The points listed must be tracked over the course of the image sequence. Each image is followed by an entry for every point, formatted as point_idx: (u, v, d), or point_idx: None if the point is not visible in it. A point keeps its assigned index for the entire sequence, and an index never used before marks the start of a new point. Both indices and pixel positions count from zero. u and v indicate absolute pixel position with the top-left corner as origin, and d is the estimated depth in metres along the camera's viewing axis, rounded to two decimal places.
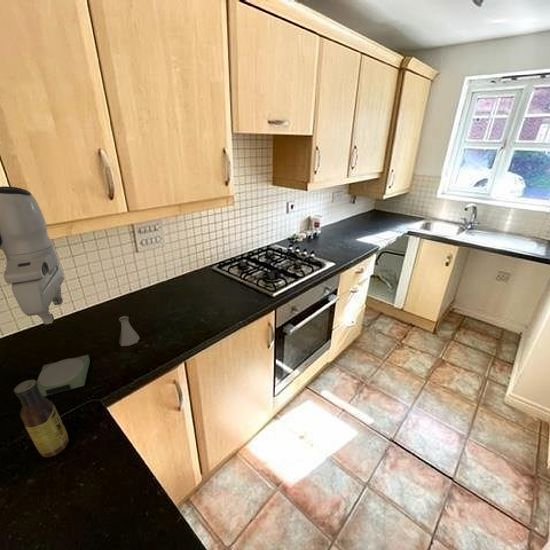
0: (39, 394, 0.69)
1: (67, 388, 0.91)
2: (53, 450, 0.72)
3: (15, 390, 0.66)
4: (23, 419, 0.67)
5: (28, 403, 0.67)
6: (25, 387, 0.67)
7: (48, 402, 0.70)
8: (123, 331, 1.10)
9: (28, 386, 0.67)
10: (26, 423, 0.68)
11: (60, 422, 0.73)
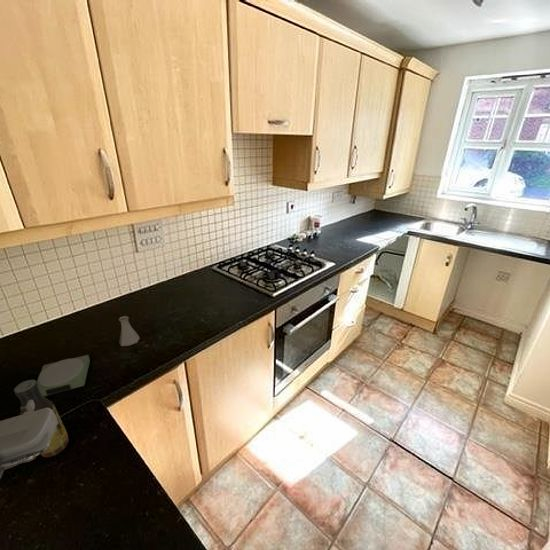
0: (39, 394, 0.69)
1: (67, 388, 0.91)
2: (53, 450, 0.72)
3: (15, 390, 0.66)
4: None
5: None
6: (25, 387, 0.67)
7: (48, 402, 0.70)
8: (123, 331, 1.10)
9: (28, 386, 0.67)
10: None
11: (60, 422, 0.73)
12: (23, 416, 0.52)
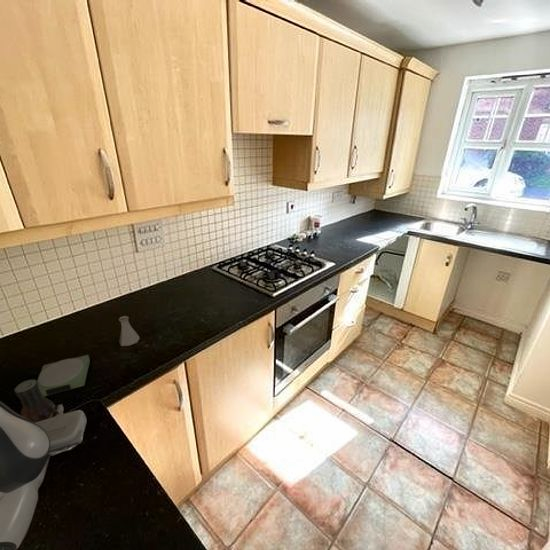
0: (39, 394, 0.69)
1: (67, 388, 0.91)
2: None
3: (15, 390, 0.66)
4: None
5: (28, 403, 0.67)
6: (26, 387, 0.67)
7: (48, 402, 0.70)
8: (123, 331, 1.10)
9: (29, 385, 0.67)
10: None
11: None
12: (61, 416, 0.68)
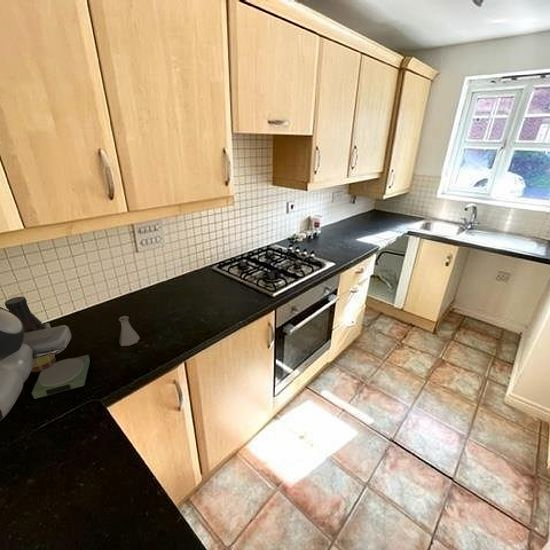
0: (28, 310, 0.75)
1: (67, 388, 0.91)
2: (41, 365, 0.78)
3: (5, 302, 0.72)
4: None
5: (17, 316, 0.73)
6: (15, 300, 0.72)
7: (36, 319, 0.76)
8: (123, 331, 1.10)
9: (18, 300, 0.73)
10: None
11: None
12: (48, 329, 0.74)
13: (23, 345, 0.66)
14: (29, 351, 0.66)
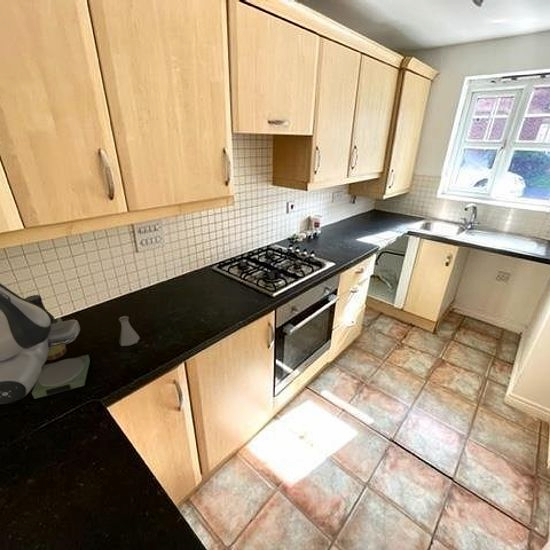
0: (42, 306, 0.87)
1: (67, 388, 0.91)
2: (54, 354, 0.90)
3: None
4: None
5: None
6: (32, 298, 0.84)
7: (50, 314, 0.88)
8: (123, 331, 1.10)
9: (34, 297, 0.85)
10: None
11: None
12: (60, 323, 0.85)
13: None
14: (45, 341, 0.78)
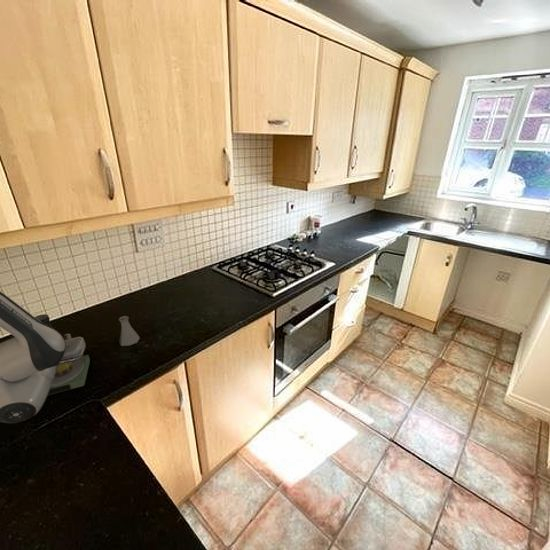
0: (50, 325, 0.89)
1: (67, 388, 0.91)
2: (61, 371, 0.92)
3: None
4: None
5: None
6: (40, 318, 0.87)
7: None
8: (123, 331, 1.10)
9: (42, 317, 0.87)
10: None
11: None
12: (66, 340, 0.88)
13: None
14: None
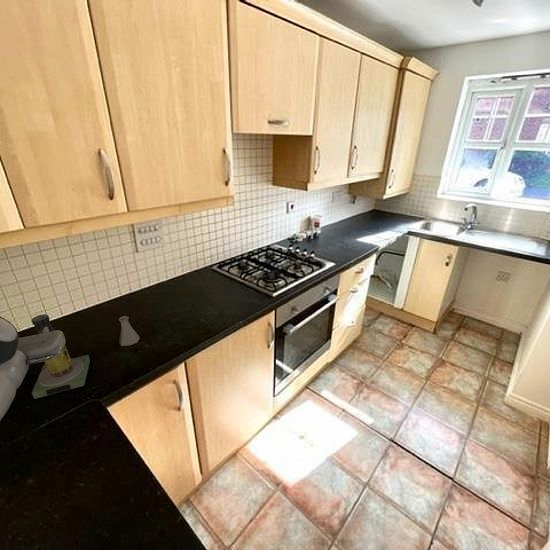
0: (50, 325, 0.89)
1: (67, 388, 0.91)
2: (61, 371, 0.92)
3: (32, 320, 0.86)
4: None
5: None
6: (40, 318, 0.87)
7: None
8: (123, 331, 1.10)
9: (42, 317, 0.87)
10: None
11: (66, 350, 0.94)
12: (41, 334, 0.73)
13: (16, 351, 0.65)
14: (22, 357, 0.65)
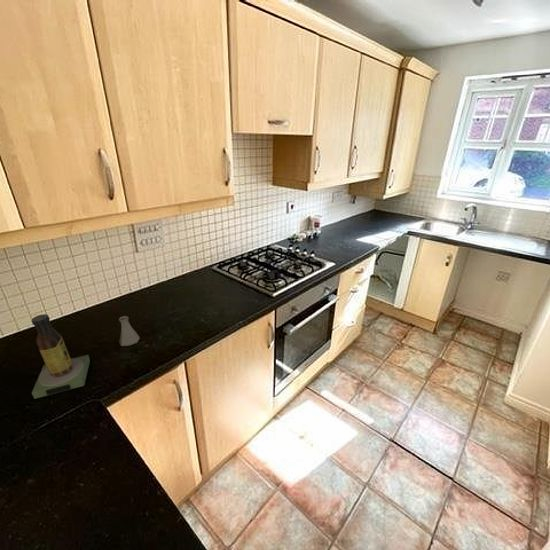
0: (50, 325, 0.89)
1: (67, 388, 0.91)
2: (61, 371, 0.92)
3: (32, 320, 0.86)
4: (38, 343, 0.88)
5: (42, 330, 0.87)
6: (40, 318, 0.87)
7: (57, 333, 0.91)
8: (123, 331, 1.10)
9: (42, 317, 0.87)
10: (40, 346, 0.88)
11: (66, 350, 0.94)
12: None
13: None
14: None
